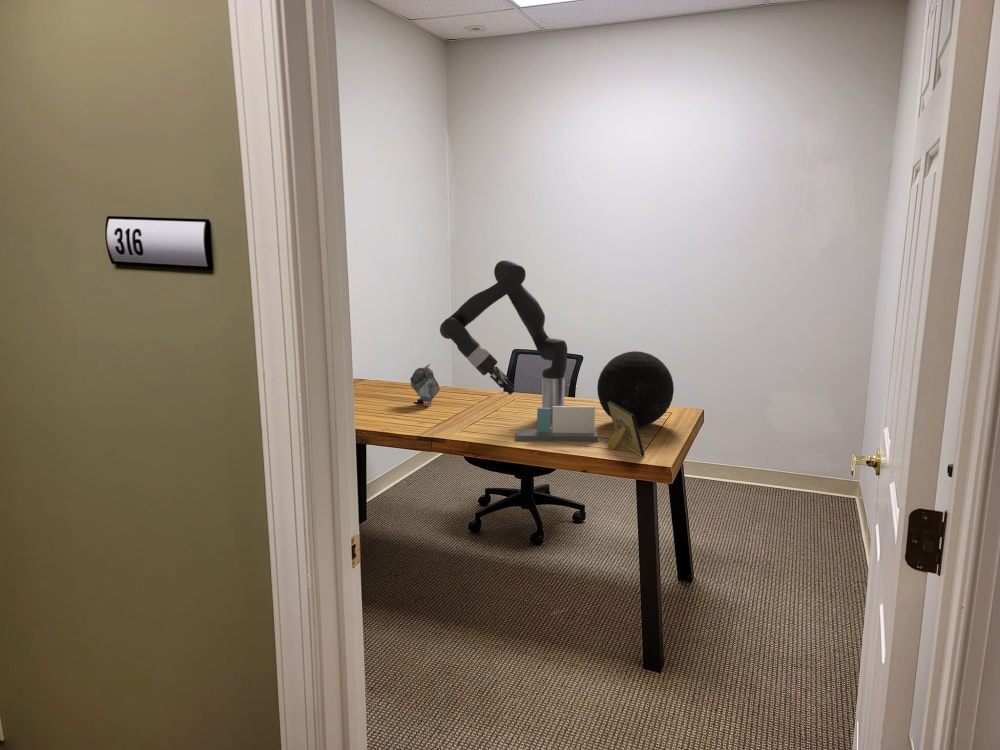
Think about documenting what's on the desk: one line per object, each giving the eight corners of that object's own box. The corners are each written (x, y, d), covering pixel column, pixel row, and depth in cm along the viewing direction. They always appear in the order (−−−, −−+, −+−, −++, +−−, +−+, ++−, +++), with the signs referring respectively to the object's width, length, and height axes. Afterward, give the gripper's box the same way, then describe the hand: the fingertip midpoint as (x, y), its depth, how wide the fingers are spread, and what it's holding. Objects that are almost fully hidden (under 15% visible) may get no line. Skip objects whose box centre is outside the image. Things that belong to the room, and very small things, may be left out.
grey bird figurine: (405, 408, 312) (404, 368, 309) (414, 401, 327) (413, 363, 324) (436, 409, 310) (435, 369, 307) (444, 401, 325) (443, 363, 322)
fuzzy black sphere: (682, 422, 287) (686, 350, 282) (655, 439, 262) (659, 359, 257) (614, 413, 303) (616, 344, 298) (583, 428, 278) (585, 353, 273)
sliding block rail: (516, 433, 269) (517, 403, 267) (595, 434, 268) (596, 403, 266) (516, 440, 259) (516, 409, 257) (598, 441, 259) (599, 409, 256)
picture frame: (645, 456, 240) (642, 413, 237) (620, 460, 239) (616, 418, 236) (620, 438, 262) (617, 399, 260) (597, 442, 261) (594, 403, 258)
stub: (537, 431, 264) (537, 407, 263) (550, 431, 264) (550, 407, 263) (537, 431, 263) (537, 408, 262) (550, 432, 263) (550, 408, 261)
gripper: (488, 355, 252) (519, 387, 254) (489, 350, 266) (519, 380, 268) (473, 370, 253) (505, 401, 255) (476, 363, 267) (505, 393, 269)
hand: (512, 390), depth 261 cm, fingers open, 8 cm apart
